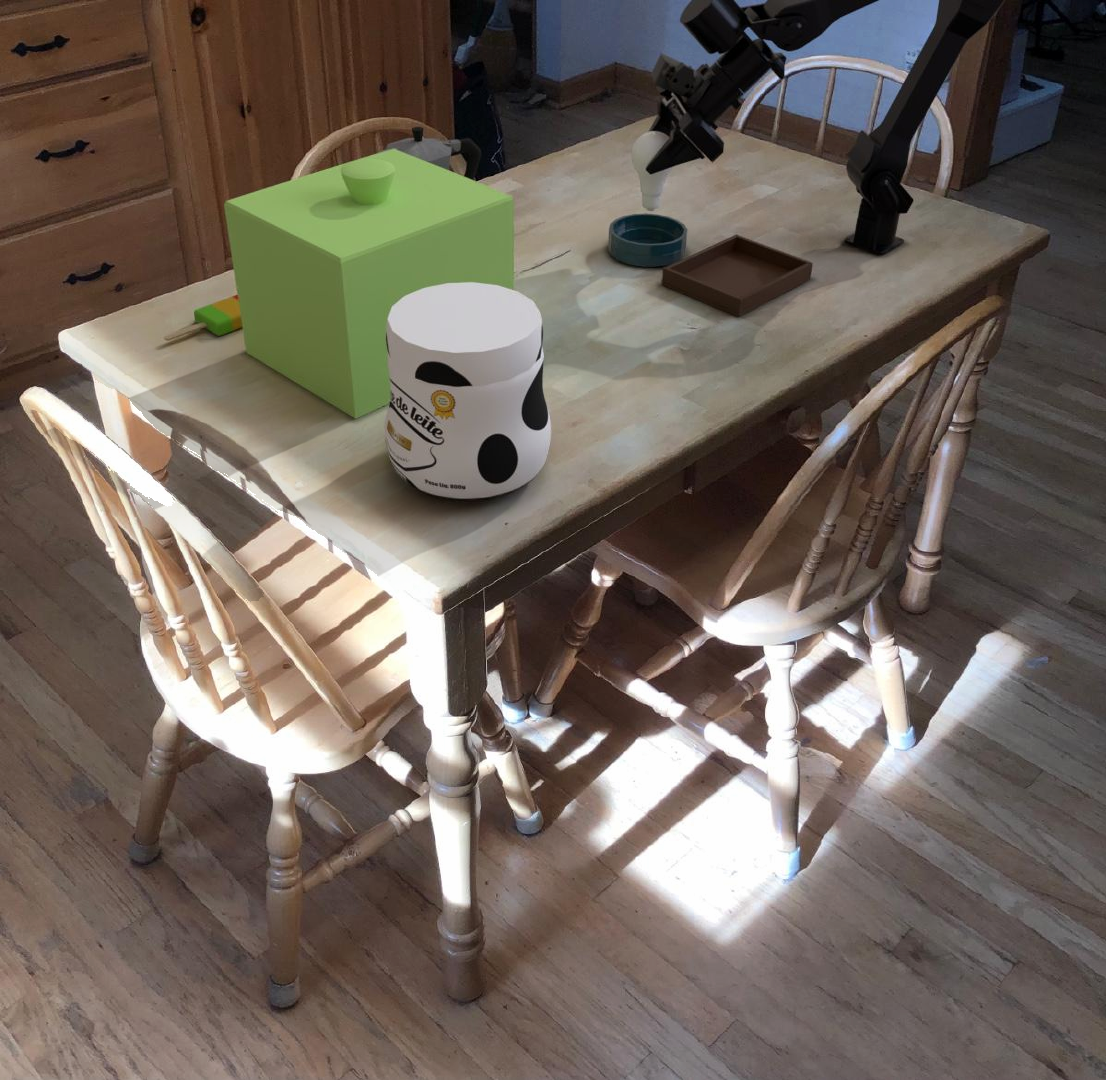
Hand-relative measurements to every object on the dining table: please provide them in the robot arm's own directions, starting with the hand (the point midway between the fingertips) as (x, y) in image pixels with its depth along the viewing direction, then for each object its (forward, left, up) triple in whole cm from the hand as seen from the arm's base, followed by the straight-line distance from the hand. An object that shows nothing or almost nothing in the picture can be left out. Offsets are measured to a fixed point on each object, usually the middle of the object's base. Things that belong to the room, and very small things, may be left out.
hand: (643, 163), depth 167 cm
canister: (+45, -3, -13) cm, 47 cm away
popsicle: (+56, -22, -13) cm, 61 cm away
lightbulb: (-1, +1, -7) cm, 7 cm away
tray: (-2, +16, -13) cm, 21 cm away
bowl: (-1, +1, -13) cm, 13 cm away
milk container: (+55, +24, -13) cm, 61 cm away
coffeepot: (+22, -20, -13) cm, 32 cm away
